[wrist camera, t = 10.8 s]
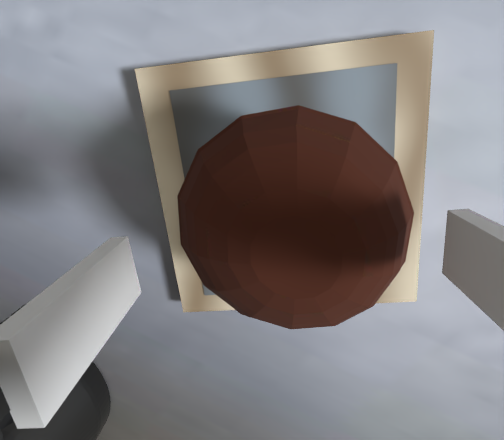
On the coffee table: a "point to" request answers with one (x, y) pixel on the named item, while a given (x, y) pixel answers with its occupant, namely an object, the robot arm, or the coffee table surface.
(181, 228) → the muffin
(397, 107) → the gold framed mirror
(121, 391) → the coffee table surface
